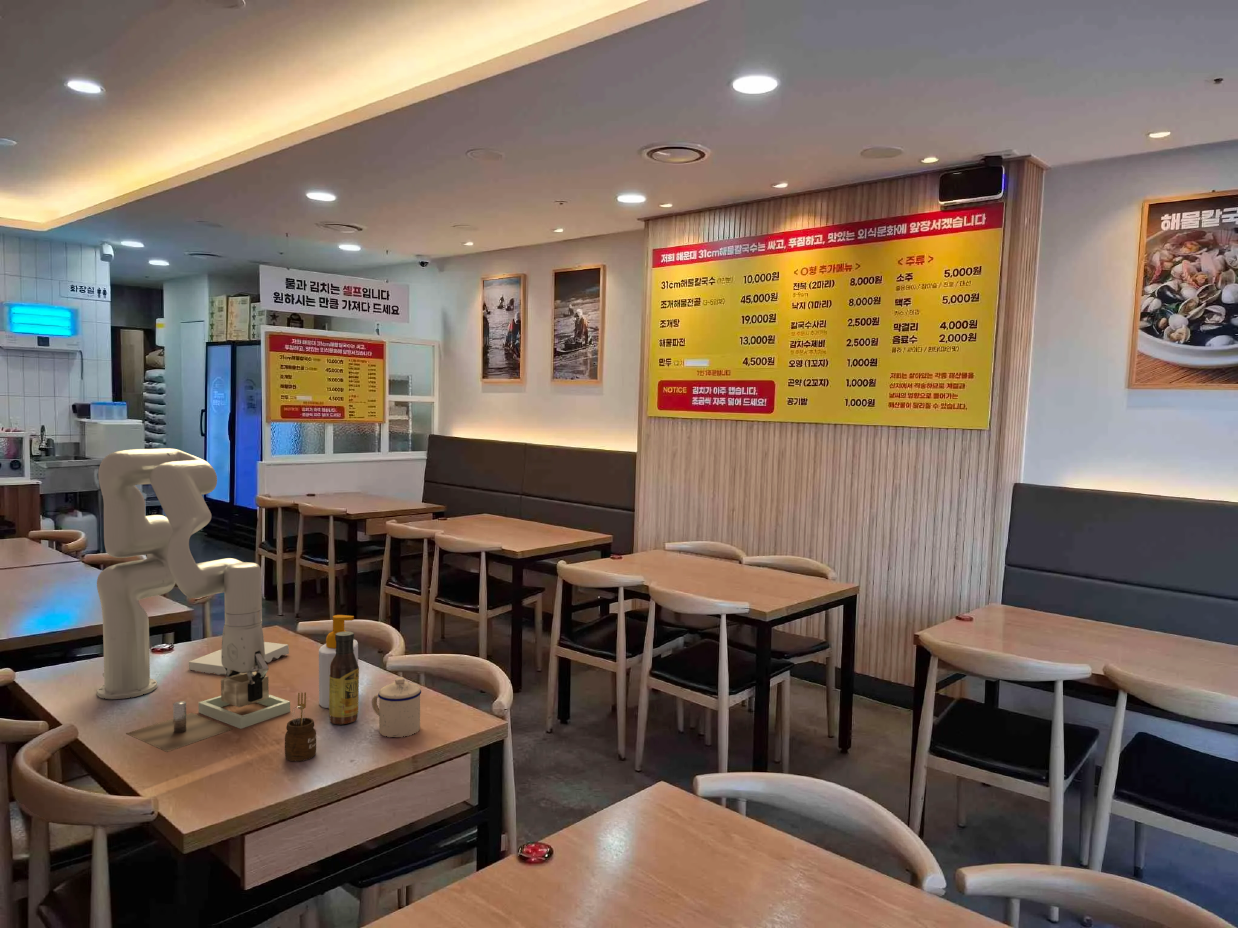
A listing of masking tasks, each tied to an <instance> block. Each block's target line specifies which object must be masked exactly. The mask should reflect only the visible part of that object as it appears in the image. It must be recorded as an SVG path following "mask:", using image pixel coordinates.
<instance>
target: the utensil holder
mask: <svg viewBox="0 0 1238 928" xmlns="http://www.w3.org/2000/svg"><path fill="white" fill-rule="evenodd" d="M297 693H298V694H297V706H296V705H295V707H294V708H293V710H291V711H292V712H291V713H292V717H291V720H289V721H288V722H287V723H286V733H285V734H284V756H285V758H286V760H288V761H289V760H290V762H295V761H297V762H304V761H308V760H310V759H312V758H313V757H315V755H316V754H317V732H316V729H315V721H314V719H312V718H310V717H304V716H303V715H305V713H306V712H305V708H306V706H307V692H304V694H303V692H301V693H300V692H297ZM296 709H297V710H299V711H300V717H297V718H295V715H296V712H295V711H296ZM294 718H295V719H294ZM303 760H304V761H303Z"/></svg>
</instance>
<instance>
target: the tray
mask: <svg viewBox="0 0 1238 928" xmlns="http://www.w3.org/2000/svg"><path fill="white" fill-rule="evenodd" d="M197 703H198V713H199V714H202V715H204V716H206V717H209V718H212V719H214V720H217V721H220V722H222V723H224V724H228V725H229V726H232V727H234V728H236V729H237V728H238V729H241V730H242V729H245V728H247V727H251V726H252V725H256V724H259V723H262V722H265V721H267V720H271V719H273V718H277V717H279V716H282V715H284V714H285V715H286V714H287V713H290V712H291V701H289V700H286V699H284V698H281V697H278V696H275V695H272V694H269V698H267V699H264V700H261V701H258V702H255V703H256V704H259V705H262V706H264V707H263V708H260V709H258V710H255V711H252V712H249V713H246V714H243V715H241V714H238V713H236V712H233V711H231V710H228V709H225V708H223V707H226V706H227V707H228V706H229V705H231V704H229V703H226V702H223V701H221V695H218V696H215V697H212V698H208V699H205V700H201V701H198V702H197ZM265 706H266V707H265Z"/></svg>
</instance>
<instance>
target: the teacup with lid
mask: <svg viewBox="0 0 1238 928" xmlns="http://www.w3.org/2000/svg"><path fill="white" fill-rule="evenodd" d="M421 694H422V690H421V687H420V686H419V685H417V684H415V683H411V682H409V681H406V680H405V678H404V677H396V678H395V679H394V681H393V682H391V683H390V684H386V685H385V686H383V687H381V688H380V689H379V690H378V693H377V694H375V695H374V696H372V698H371V706H372V709H373V711H374V713H375V715H377V716H378V717H379V720H378V723H379V725H378V728H379V731H378V732H379V733H380V735H382V736H383V737H386V736H387V737H386V738H390V737H401V738H406V737H405V736H407V737H410V736H413V735H415V734H417V733H418V732H419V731H420V728H421ZM378 700H379V701H378ZM416 732H417V733H416ZM414 733H415V734H414ZM412 734H413V735H412ZM409 735H410V736H409ZM403 736H404V737H403Z"/></svg>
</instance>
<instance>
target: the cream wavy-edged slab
mask: <svg viewBox="0 0 1238 928" xmlns="http://www.w3.org/2000/svg"><path fill="white" fill-rule="evenodd" d="M264 647H265V663H266V664H267V663H270V662H272V660H273V661H275V660H278V659H279V658H280V657H281V656H286V655H289V654H290V652H289V651H290V648H289V644H287V643H279V642H277V643H276V642H270V641H269V642H268V641H264ZM221 650H222V648H221V649H219V650H215V651H213V652H211V653H208V654H206V655H202V656H200V657H198V658H197V657H196V658H195V659H192V660H189V661H188V670H190V671H191V670H195V671H194V672H197V671H201V672H200V673H204V672H205V673H204V674H210V673H215V675H217V676H226V669H225V667H224V666H223V665H222V662H221ZM254 668H255V667H252V669H254Z"/></svg>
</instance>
